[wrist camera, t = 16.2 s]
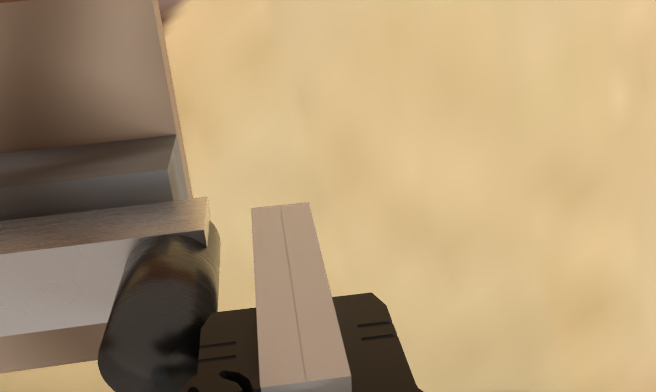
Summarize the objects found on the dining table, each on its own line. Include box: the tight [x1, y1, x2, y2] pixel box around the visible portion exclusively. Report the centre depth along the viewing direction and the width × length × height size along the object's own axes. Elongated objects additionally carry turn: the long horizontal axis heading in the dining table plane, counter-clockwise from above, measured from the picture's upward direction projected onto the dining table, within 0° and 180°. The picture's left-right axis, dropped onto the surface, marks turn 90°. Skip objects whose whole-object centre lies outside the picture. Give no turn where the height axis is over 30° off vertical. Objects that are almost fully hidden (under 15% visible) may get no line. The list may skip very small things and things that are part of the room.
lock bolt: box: [0, 197, 221, 392], centre depth 15 cm, size 9×2×5 cm, turn 94°
